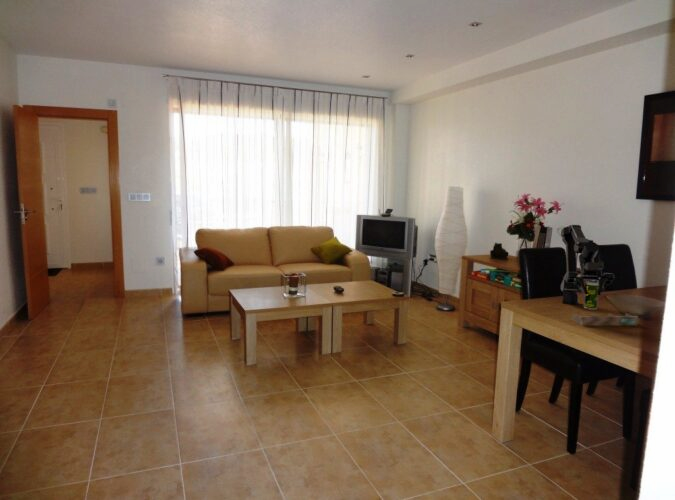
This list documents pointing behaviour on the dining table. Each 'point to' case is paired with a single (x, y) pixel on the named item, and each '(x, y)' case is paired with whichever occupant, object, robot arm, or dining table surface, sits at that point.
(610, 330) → the dining table surface
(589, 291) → the beer can
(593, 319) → the can rack
